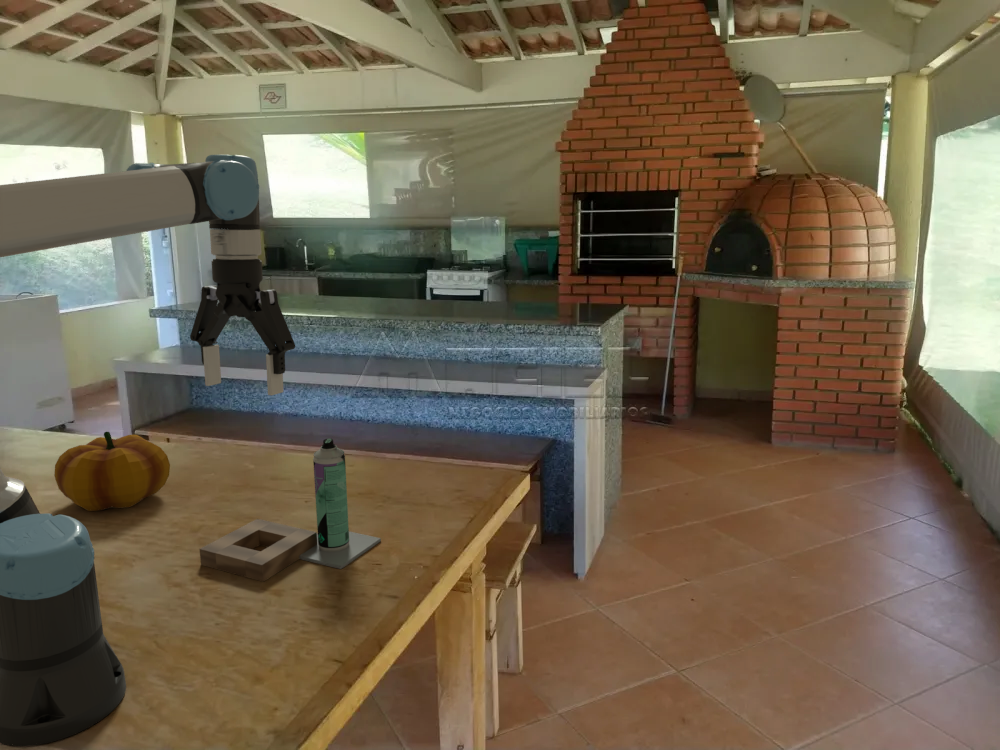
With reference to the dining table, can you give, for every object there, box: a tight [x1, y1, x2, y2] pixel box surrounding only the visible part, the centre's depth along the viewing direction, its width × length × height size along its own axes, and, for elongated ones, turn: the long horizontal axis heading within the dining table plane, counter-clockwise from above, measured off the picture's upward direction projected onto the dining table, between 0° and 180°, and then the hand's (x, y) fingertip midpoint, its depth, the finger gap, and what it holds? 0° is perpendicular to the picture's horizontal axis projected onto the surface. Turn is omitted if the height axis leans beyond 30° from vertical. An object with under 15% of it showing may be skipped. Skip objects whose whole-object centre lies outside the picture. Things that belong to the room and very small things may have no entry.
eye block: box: [198, 518, 318, 582], centre depth 133 cm, size 14×14×3 cm
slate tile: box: [298, 530, 382, 570], centre depth 136 cm, size 12×12×1 cm
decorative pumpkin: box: [53, 431, 171, 512], centre depth 157 cm, size 20×22×15 cm
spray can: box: [312, 438, 350, 552], centre depth 134 cm, size 6×6×20 cm
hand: (243, 389), depth 122 cm, fingers open, 13 cm apart
